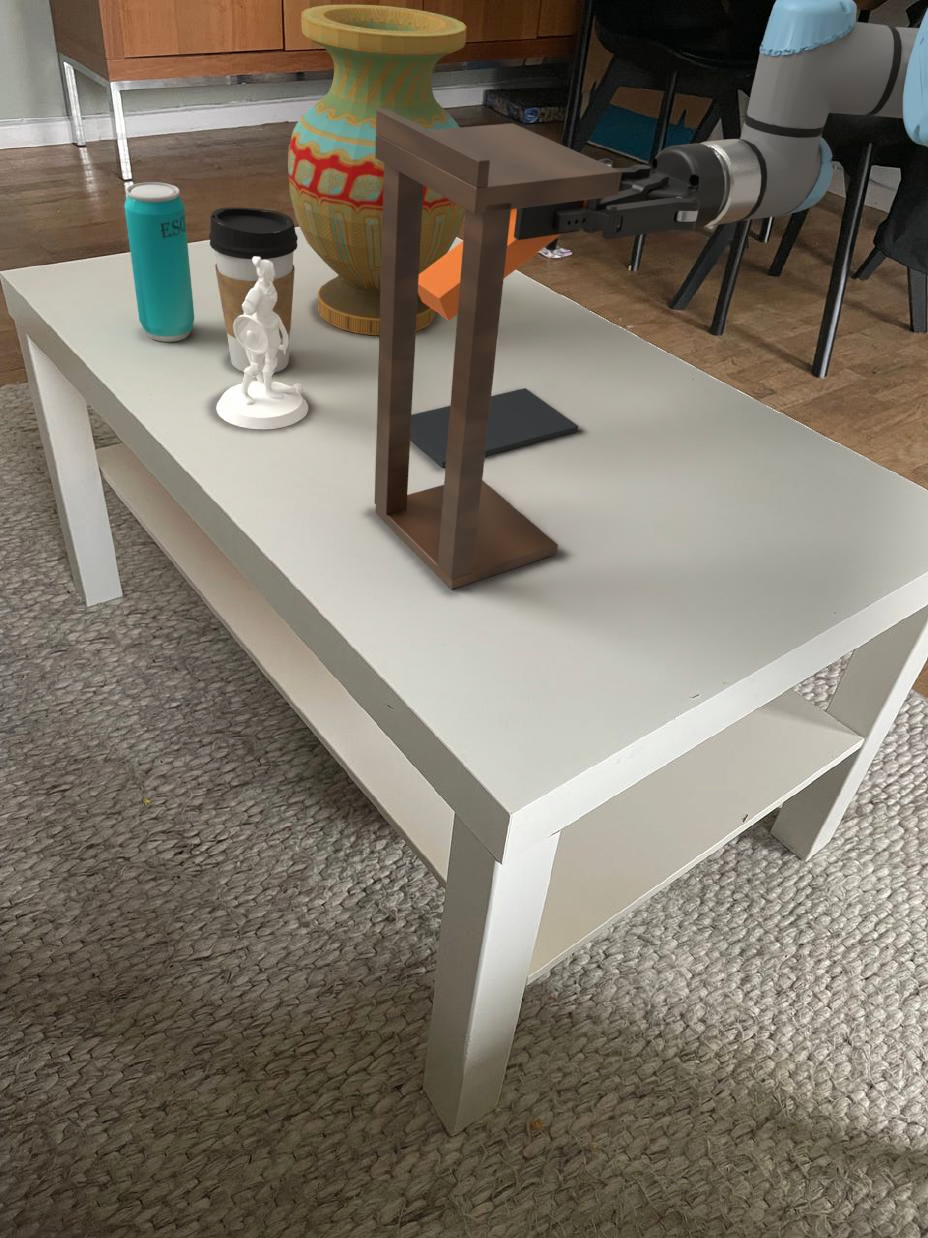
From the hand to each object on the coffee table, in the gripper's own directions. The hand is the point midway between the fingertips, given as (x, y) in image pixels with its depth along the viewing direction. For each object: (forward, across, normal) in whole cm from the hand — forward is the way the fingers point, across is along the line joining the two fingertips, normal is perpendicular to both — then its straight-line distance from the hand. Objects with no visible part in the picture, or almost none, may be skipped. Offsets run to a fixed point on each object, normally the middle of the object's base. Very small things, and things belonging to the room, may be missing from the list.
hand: (501, 212), depth 85 cm
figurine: (+17, +13, -21) cm, 30 cm away
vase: (-5, +29, -21) cm, 36 cm away
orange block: (-2, 0, -4) cm, 4 cm away
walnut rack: (+12, -14, -21) cm, 28 cm away
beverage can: (+19, +32, -21) cm, 43 cm away
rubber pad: (-1, 0, -21) cm, 21 cm away
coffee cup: (+13, +22, -21) cm, 33 cm away
